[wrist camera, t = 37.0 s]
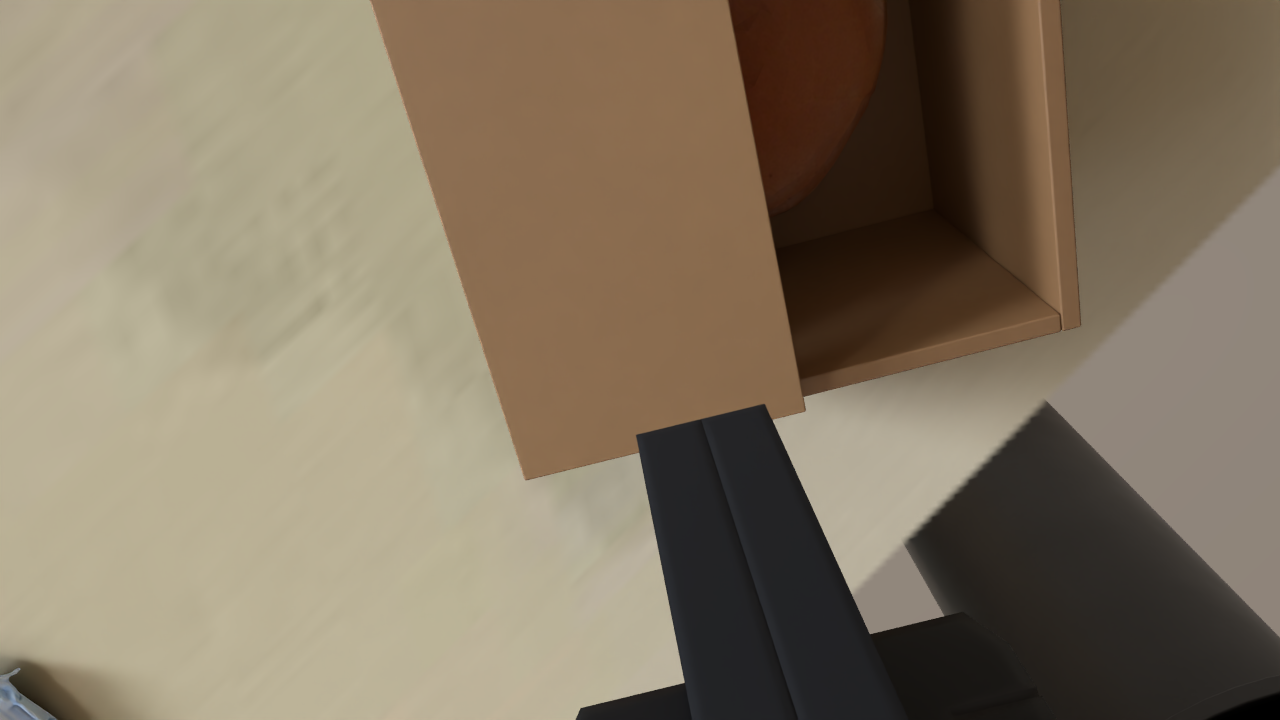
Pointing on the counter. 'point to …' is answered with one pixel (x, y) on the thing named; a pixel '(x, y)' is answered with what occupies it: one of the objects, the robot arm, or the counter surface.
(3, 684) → the snack bag
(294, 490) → the counter surface
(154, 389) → the counter surface
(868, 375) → the carton
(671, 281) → the flap
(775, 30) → the burger
